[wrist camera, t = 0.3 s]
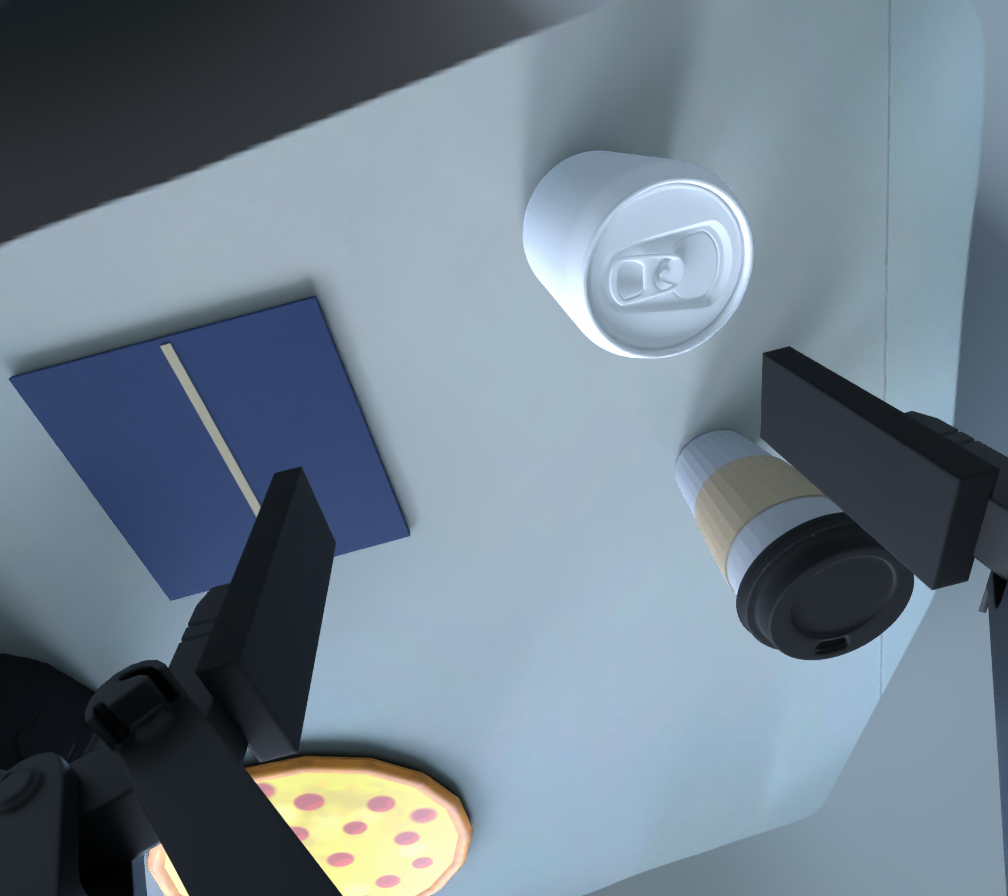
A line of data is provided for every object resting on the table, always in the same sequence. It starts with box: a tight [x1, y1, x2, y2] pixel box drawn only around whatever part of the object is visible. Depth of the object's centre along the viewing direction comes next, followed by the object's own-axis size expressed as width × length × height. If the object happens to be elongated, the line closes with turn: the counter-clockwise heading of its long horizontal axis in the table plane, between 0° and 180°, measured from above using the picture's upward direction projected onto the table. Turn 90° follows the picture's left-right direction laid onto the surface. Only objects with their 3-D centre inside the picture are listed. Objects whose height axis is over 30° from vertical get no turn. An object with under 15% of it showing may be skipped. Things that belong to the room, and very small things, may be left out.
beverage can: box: [523, 151, 754, 358], centre depth 28 cm, size 8×8×12 cm
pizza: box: [148, 756, 473, 896], centre depth 60 cm, size 32×32×1 cm
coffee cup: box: [675, 430, 914, 660], centre depth 36 cm, size 9×9×15 cm
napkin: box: [9, 296, 410, 601], centre depth 37 cm, size 18×18×1 cm
